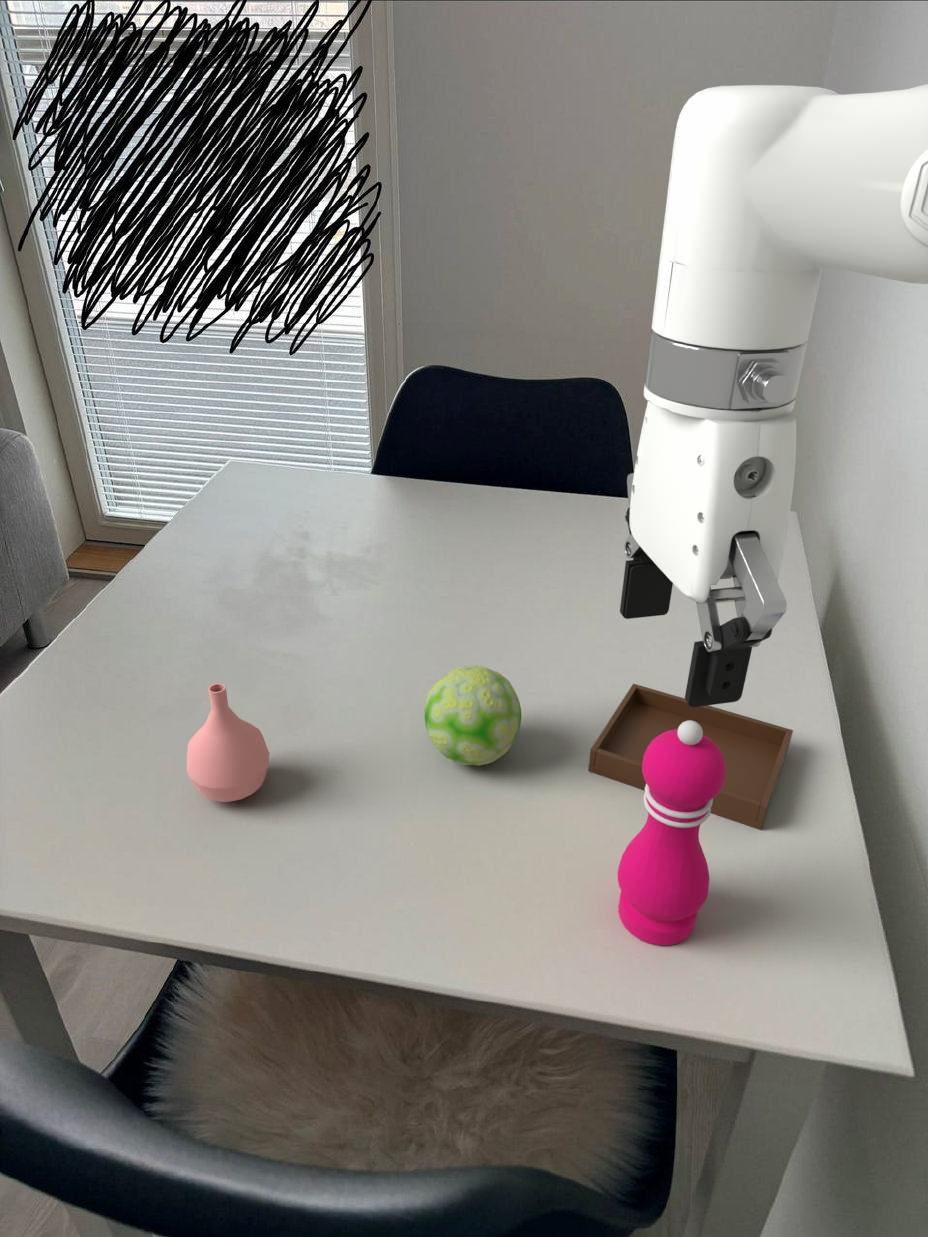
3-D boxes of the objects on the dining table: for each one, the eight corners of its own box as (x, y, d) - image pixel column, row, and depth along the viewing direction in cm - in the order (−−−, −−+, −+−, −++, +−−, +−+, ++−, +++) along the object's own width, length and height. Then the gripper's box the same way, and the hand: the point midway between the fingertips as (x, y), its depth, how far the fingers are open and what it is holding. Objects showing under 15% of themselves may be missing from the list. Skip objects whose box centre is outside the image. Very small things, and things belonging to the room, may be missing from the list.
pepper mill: (701, 891, 75) (743, 702, 65) (699, 960, 69) (745, 763, 59) (616, 875, 76) (644, 687, 66) (607, 941, 70) (636, 745, 60)
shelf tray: (787, 751, 92) (793, 730, 90) (761, 830, 81) (766, 807, 80) (630, 703, 98) (633, 683, 97) (587, 771, 88) (590, 749, 87)
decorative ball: (405, 747, 91) (403, 667, 86) (481, 714, 96) (483, 637, 91) (461, 800, 84) (463, 717, 79) (540, 761, 89) (546, 681, 84)
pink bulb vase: (195, 767, 88) (177, 668, 82) (272, 759, 89) (261, 661, 83) (188, 821, 81) (168, 717, 75) (271, 812, 83) (258, 709, 76)
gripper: (895, 419, 38) (809, 734, 46) (712, 330, 52) (673, 583, 61) (736, 429, 36) (678, 752, 45) (593, 334, 51) (570, 593, 59)
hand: (675, 654), depth 53 cm, fingers open, 9 cm apart
